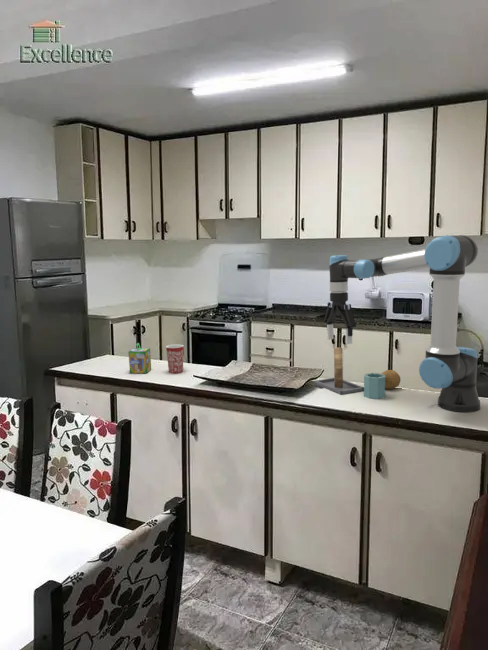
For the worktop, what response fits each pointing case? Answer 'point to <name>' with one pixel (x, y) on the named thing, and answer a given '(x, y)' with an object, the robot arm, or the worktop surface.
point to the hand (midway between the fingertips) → (339, 341)
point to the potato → (391, 379)
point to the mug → (175, 358)
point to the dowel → (338, 367)
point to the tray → (346, 388)
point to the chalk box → (139, 360)
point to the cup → (374, 385)
